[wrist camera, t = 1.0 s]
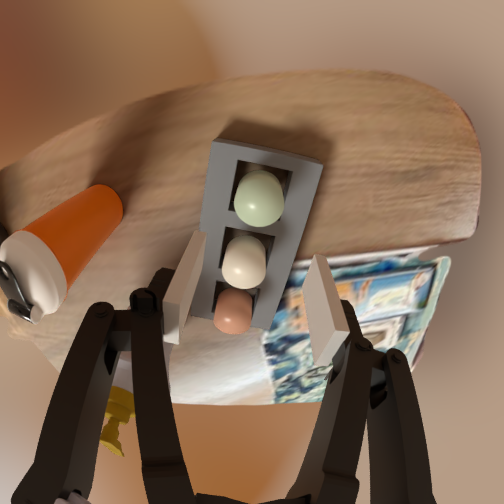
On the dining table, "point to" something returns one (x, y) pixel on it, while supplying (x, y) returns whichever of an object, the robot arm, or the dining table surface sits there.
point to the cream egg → (244, 262)
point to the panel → (283, 230)
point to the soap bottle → (123, 399)
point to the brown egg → (233, 311)
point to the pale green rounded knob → (259, 198)
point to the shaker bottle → (56, 251)
